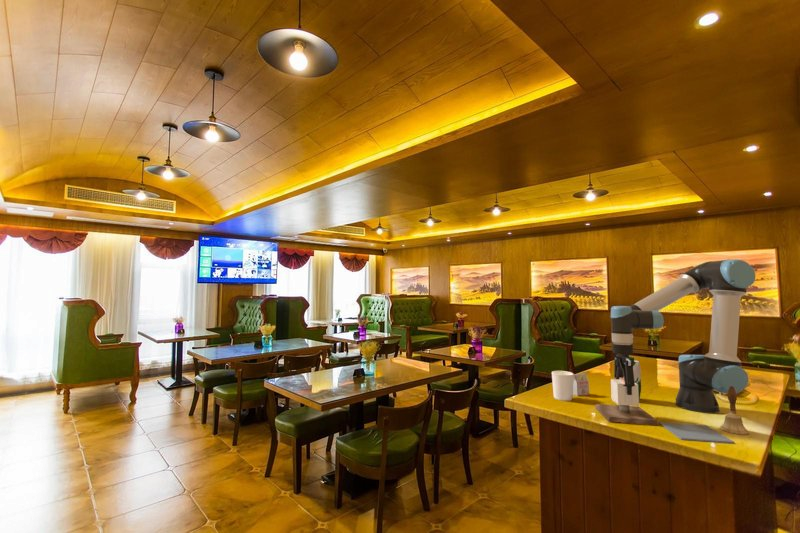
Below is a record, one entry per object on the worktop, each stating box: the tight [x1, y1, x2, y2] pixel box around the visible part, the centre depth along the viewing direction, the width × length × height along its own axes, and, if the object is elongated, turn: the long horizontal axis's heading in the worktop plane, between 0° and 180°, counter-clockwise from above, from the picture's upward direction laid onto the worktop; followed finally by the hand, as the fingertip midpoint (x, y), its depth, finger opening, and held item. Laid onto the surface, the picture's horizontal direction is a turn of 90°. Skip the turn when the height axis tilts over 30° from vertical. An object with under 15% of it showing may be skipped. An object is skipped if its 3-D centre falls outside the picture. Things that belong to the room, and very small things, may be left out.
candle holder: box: [551, 370, 574, 402], centre depth 179 cm, size 10×10×12 cm
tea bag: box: [573, 373, 590, 397], centre depth 185 cm, size 4×7×10 cm, turn 105°
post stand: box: [595, 403, 659, 426], centre depth 153 cm, size 17×17×8 cm
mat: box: [658, 421, 735, 445], centre depth 136 cm, size 16×16×1 cm
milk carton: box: [623, 356, 642, 401], centre depth 178 cm, size 9×9×20 cm
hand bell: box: [719, 386, 750, 436], centre depth 139 cm, size 8×8×16 cm
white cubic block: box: [610, 378, 640, 407], centre depth 154 cm, size 8×8×9 cm
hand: (624, 399), depth 153 cm, fingers closed on white cubic block, 8 cm apart
